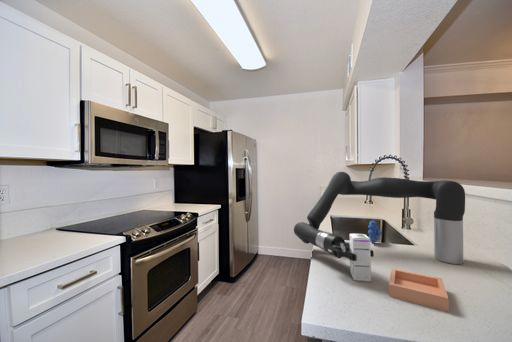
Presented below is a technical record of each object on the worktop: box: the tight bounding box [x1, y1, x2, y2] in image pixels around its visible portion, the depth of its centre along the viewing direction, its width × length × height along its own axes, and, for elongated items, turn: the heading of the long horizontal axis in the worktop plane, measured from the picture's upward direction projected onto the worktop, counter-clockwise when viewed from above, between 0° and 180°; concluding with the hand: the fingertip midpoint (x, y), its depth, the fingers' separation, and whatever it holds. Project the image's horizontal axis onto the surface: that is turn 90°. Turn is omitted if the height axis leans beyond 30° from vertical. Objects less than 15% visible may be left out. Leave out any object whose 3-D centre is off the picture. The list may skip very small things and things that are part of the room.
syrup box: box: [349, 233, 372, 283], centre depth 78 cm, size 6×6×14 cm
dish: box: [388, 268, 450, 313], centre depth 68 cm, size 13×13×4 cm
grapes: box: [367, 220, 383, 244], centre depth 116 cm, size 12×7×12 cm, turn 138°
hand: (364, 256), depth 76 cm, fingers closed on syrup box, 8 cm apart
